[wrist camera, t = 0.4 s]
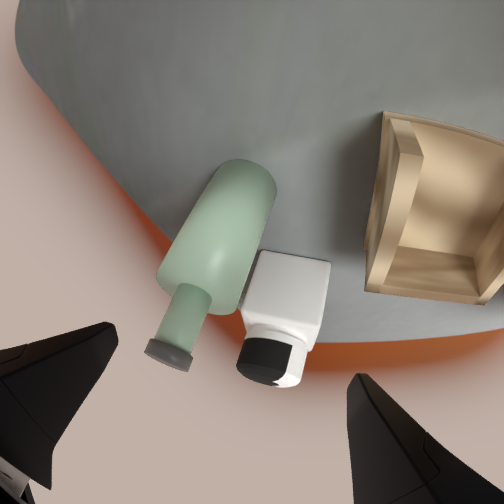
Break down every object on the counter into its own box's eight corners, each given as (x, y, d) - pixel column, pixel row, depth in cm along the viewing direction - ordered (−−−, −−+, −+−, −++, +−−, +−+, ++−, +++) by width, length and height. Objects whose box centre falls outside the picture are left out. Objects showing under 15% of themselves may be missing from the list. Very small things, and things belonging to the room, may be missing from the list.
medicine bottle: (264, 284, 33) (233, 379, 27) (260, 247, 28) (220, 362, 21) (322, 296, 32) (300, 395, 25) (331, 260, 26) (308, 383, 19)
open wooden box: (383, 111, 13) (394, 151, 11) (530, 152, 10) (562, 200, 7) (363, 241, 23) (360, 290, 20) (477, 258, 19) (486, 305, 16)
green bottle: (205, 163, 21) (105, 330, 13) (267, 156, 19) (180, 358, 11) (227, 210, 25) (156, 364, 16) (282, 209, 23) (225, 386, 14)
